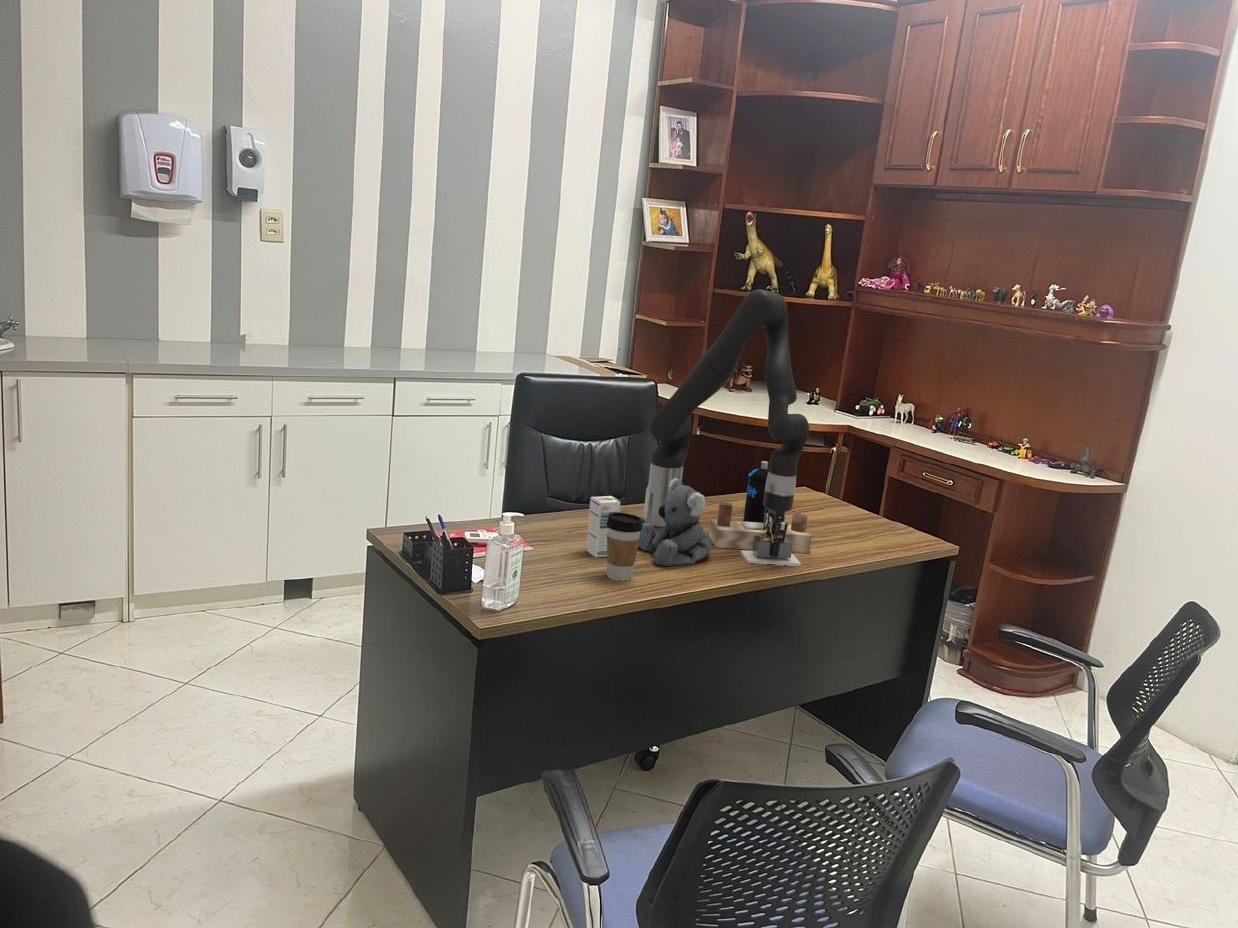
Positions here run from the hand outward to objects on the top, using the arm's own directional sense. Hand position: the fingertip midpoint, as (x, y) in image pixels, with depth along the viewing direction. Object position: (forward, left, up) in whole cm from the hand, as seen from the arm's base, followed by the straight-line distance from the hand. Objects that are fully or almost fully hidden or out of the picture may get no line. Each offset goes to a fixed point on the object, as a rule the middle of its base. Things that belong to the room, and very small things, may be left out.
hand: (770, 552), depth 249 cm
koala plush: (-25, -1, -2) cm, 25 cm away
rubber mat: (0, 0, -2) cm, 2 cm away
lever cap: (0, 0, 0) cm, 1 cm away
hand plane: (0, +12, -2) cm, 12 cm away
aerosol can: (+3, +27, -2) cm, 27 cm away
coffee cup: (-42, -19, -2) cm, 46 cm away
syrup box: (-45, -3, -2) cm, 45 cm away
